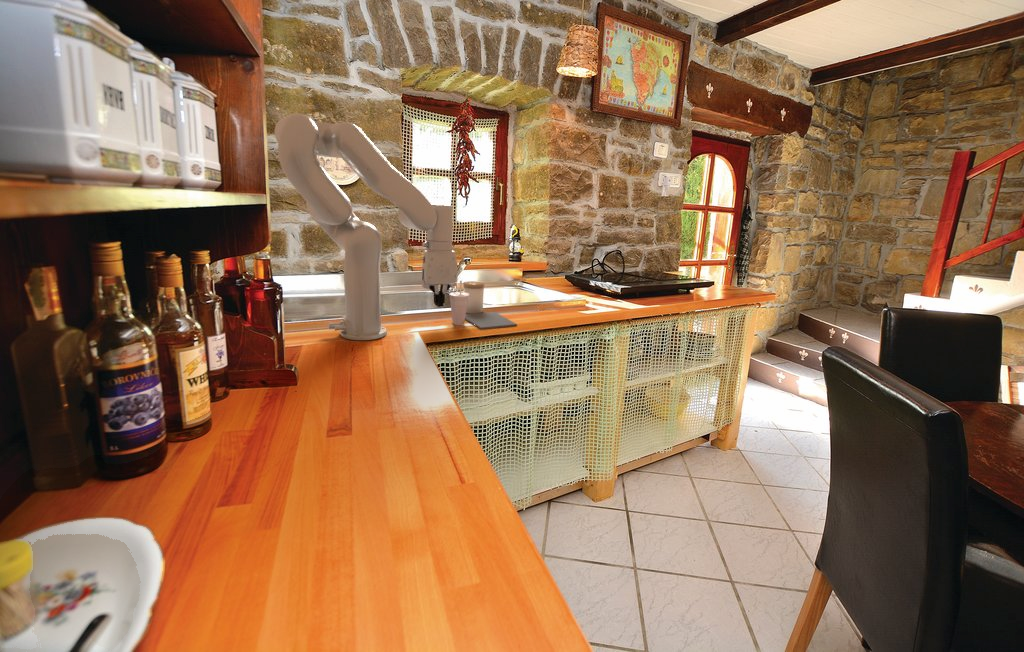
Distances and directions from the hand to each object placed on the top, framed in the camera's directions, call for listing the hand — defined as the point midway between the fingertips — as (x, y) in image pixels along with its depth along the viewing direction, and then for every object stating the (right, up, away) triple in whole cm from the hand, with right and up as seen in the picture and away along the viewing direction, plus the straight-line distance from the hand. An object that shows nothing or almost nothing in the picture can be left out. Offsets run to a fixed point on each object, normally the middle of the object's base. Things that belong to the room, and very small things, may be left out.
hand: (439, 305), depth 148 cm
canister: (+9, -1, +21) cm, 23 cm away
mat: (+15, -5, +10) cm, 18 cm away
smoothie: (+5, -6, +5) cm, 9 cm away
